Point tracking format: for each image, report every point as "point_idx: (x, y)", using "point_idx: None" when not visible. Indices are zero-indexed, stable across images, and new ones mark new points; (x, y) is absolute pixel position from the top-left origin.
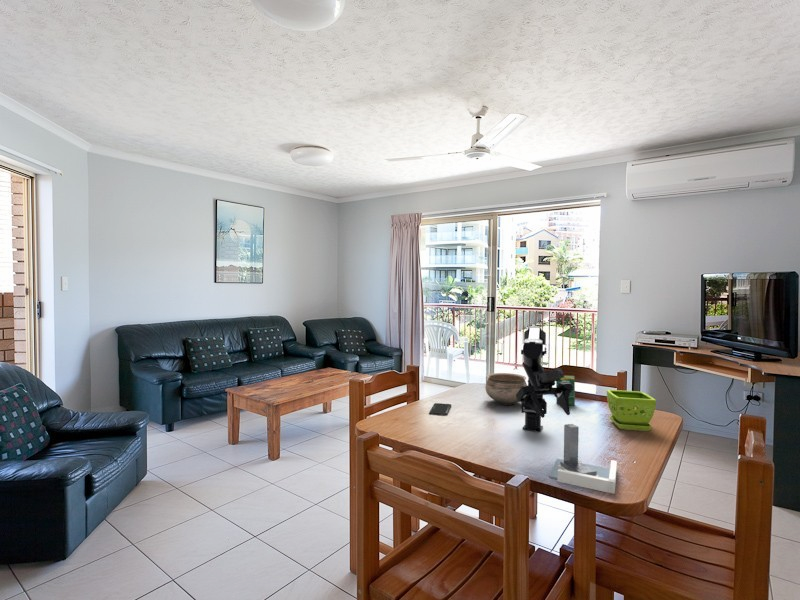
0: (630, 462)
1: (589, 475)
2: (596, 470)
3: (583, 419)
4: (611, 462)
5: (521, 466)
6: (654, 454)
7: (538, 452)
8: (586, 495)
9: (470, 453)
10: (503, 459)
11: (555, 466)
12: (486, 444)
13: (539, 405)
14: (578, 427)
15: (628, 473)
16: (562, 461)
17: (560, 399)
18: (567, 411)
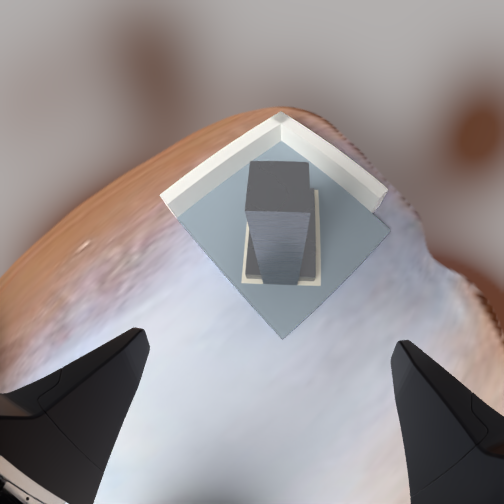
0: (93, 245)
1: (316, 145)
2: (226, 219)
3: None
4: (183, 190)
5: (428, 321)
6: (26, 264)
7: (302, 417)
8: (347, 141)
9: None
10: None
11: (334, 280)
12: None
13: (455, 399)
14: (252, 162)
15: (156, 195)
16: (308, 274)
17: (70, 471)
18: (135, 346)
